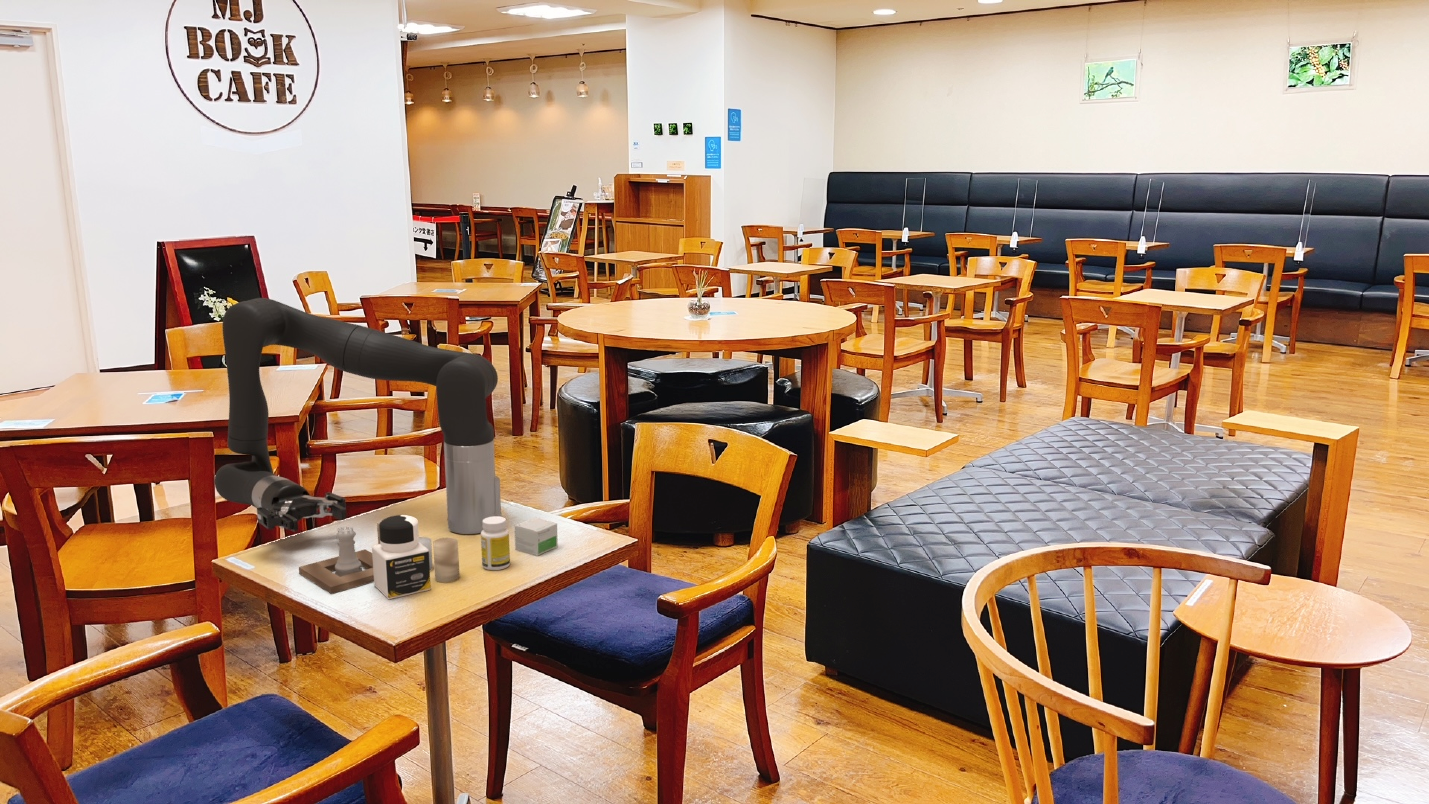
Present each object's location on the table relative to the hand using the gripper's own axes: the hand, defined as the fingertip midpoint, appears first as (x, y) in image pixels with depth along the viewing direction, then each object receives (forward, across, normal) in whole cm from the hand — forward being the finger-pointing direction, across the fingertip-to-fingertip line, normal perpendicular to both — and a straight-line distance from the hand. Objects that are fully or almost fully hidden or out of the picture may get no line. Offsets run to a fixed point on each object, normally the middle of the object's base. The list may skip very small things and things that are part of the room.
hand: (320, 520), depth 179 cm
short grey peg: (+16, +10, +7) cm, 20 cm away
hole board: (+10, 0, +7) cm, 12 cm away
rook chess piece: (+10, 0, +7) cm, 12 cm away
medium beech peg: (+23, +11, +7) cm, 26 cm away
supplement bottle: (+24, +20, +7) cm, 32 cm away
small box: (+22, +30, +7) cm, 38 cm away
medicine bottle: (+21, +3, +7) cm, 23 cm away
